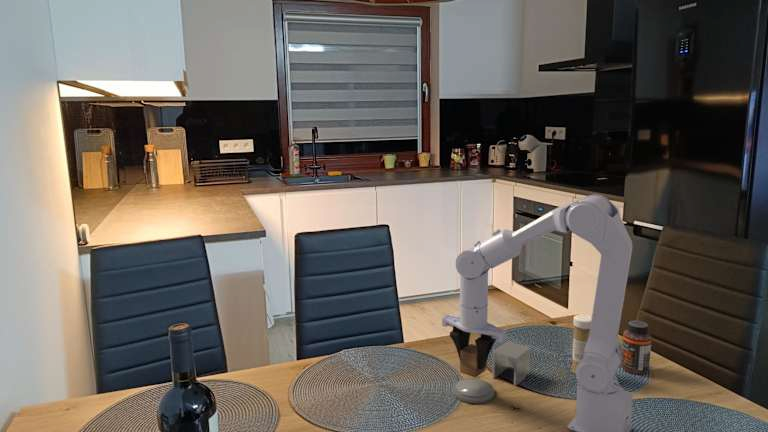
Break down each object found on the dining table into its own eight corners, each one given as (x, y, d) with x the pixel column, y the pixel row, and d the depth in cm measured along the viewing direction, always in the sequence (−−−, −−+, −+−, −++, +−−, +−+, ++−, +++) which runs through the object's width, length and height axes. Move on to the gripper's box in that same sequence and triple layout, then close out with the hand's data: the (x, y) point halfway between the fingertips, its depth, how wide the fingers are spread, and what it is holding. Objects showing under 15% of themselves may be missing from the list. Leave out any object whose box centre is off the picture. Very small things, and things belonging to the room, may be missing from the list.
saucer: (501, 390, 116) (501, 385, 116) (480, 408, 110) (480, 402, 109) (465, 378, 122) (465, 373, 122) (443, 394, 115) (443, 389, 115)
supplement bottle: (614, 366, 126) (617, 321, 124) (633, 361, 128) (636, 316, 126) (636, 377, 121) (639, 330, 119) (654, 372, 123) (658, 325, 121)
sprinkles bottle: (596, 373, 123) (599, 318, 120) (583, 379, 120) (586, 322, 118) (579, 366, 127) (582, 312, 124) (566, 371, 124) (569, 316, 122)
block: (485, 370, 115) (486, 348, 114) (475, 377, 112) (475, 355, 111) (470, 365, 118) (470, 343, 117) (460, 372, 115) (460, 350, 114)
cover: (529, 373, 124) (530, 347, 122) (515, 385, 118) (516, 358, 117) (506, 366, 127) (507, 341, 126) (492, 378, 122) (492, 351, 121)
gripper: (514, 305, 111) (512, 367, 113) (454, 292, 120) (454, 349, 122) (497, 316, 105) (496, 380, 108) (436, 300, 114) (436, 360, 117)
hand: (472, 364), depth 115 cm, fingers closed on block, 4 cm apart
